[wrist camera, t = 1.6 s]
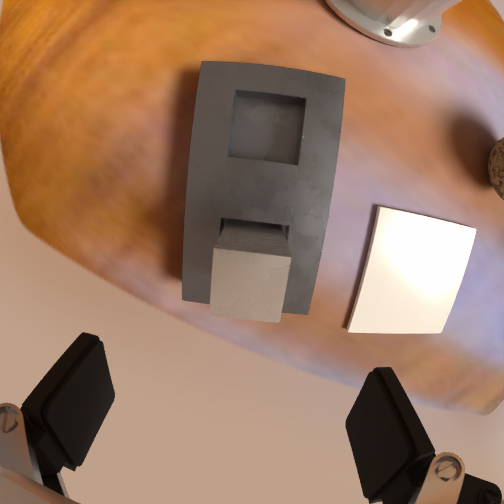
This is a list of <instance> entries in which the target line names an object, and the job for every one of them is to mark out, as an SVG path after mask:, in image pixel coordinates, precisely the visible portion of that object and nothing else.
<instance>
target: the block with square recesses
mask: <svg viewBox="0 0 504 504" xmlns="http://www.w3.org/2000/svg"><path fill="white" fill-rule="evenodd" d="M345 81H346V79H344V78H339V77H335V76H331V75H326V74H321V73H316V72H311V71H305V70H299V69H293V68H286V67H279V66H271V65H262V64H251V63H238V62H217V61H202V62H201V68H200V75H199V81H198V88H197V95H196V102H195V109H194V117H193V125H192V134H191V143H190V153H189V164H188V175H187V187H186V201H185V218H184V237H183V266H182V300H184V301H191V302H198V303H205V304H210V295H211V278H212V263H213V249H214V246H215V244H216V242H217V240H218V238H219V237H220V235H221V233H222V231H223V229H224V227H225V225H226V223H227V221H228V219H229V218H230V219H239V220H248V221H256V222H265V223H273V224H281V225H282V228H283V231H284V234H285V237H286V241H287V244H288V247H289V251H290V254H291V263H290V269H289V274H288V280H287V286H286V291H285V297H284V302H283V307H282V313H292V314H304V315H308V312H309V308H310V304H311V299H312V295H313V291H314V286H315V282H316V277H317V272H318V267H319V263H320V258H321V253H322V248H323V242H324V237H325V232H326V226H327V221H328V215H329V209H330V203H331V197H332V191H333V184H334V178H335V171H336V164H337V157H338V149H339V141H340V133H341V124H342V114H343V104H344V93H345Z"/></svg>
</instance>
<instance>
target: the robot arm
mask: <svg viewBox="0 0 504 504" xmlns="http://www.w3.org/2000/svg"><path fill="white" fill-rule="evenodd" d="M325 1H326V3H327V4H328V5H329V7H330V8H331V9H332V10H333V11H334V12H335V13H336V14H337V15H338V16H339V17H340V18H342V19H343V20H344V21H345V22H347V23H348V24H349V25H350V26H352V27H353V28H355V29H357V30H358V31H360V32H361V33H363V34H365V35H367V36H369V37H371V38H373V39H375V40H378V41H380V42H383V43H386V44H389V45H393V46H397V47H407V48H412V47H419V46H422V45H424V44H427V43H428V42H430V41H432V40H433V39H435V37H436V36H437V35H438V34H439V31H440V29H441V24H442V17H441V14H442V13H443V12H445V11H447V10H448V9H450V8H451V7H453V6H454V5H456V4H458V3H459V2H461V1H463V0H325ZM114 398H115V392H114V388H113V385H112V380H111V377H110V373H109V368H108V364H107V359H106V355H105V350H104V345H103V342H102V341H100V340H99V337H98V336H96V335H92V334H89V333H85V332H83V333H81V334H80V335H79V336H78V338H77V339H76V340H75V341H74V342H73V343H72V344H71V345H70V347H69V348H68V349H67V350H66V351H65V352H64V354H63V355H62V356H61V357H60V358H59V359H58V361H57V362H56V363H55V364H54V365H53V366H52V368H51V369H50V370H49V371H48V372H47V374H46V375H45V376H44V377H43V379H42V380H41V381H40V382H39V383H38V385H37V386H36V387H35V388H34V390H33V391H32V392H31V394H30V395H29V396H28V397H27V399H26V400H25V401H24V403H23V404H22V407H21V409H19V408H18V407H17V406H16V405H14V404H11V403H2V404H0V504H79V503H77V502H75V501H73V500H71V499H70V498H69V495H68V493H67V490H66V487H65V485H64V482H63V479H62V476H61V473H60V471H61V469H62V467H63V466H64V467H66V468H68V469H71V470H73V471H75V469H76V467H77V466H81V465H82V463H83V461H84V459H85V457H86V455H87V453H88V451H89V449H90V447H91V445H92V443H93V441H94V438H95V437H96V434H97V433H98V431H99V429H100V427H101V425H102V422H103V421H104V419H105V417H106V415H107V413H108V411H109V409H110V407H111V405H112V403H113V401H114ZM346 430H347V434H348V437H349V441H350V445H351V448H352V452H353V456H354V459H355V463H356V467H357V471H358V475H359V478H360V483H361V487H362V491H363V495H364V497H365V498H368V500H369V504H372V503H376V502H381V501H382V502H383V504H504V499H503V500H502V494H501V491H500V489H499V487H498V486H497V485H495V484H493V483H491V482H488V481H485V480H482V479H480V478H477V477H474V476H471V475H469V474H466V473H465V465H464V462H463V461H462V459H461V458H460V457H459V456H457V455H456V454H454V453H450V452H443V453H440V454H438V455H437V456H436V455H435V449H434V447H433V445H432V443H431V441H430V439H429V437H428V435H427V433H426V431H425V429H424V427H423V425H422V423H421V421H420V419H419V417H418V415H417V413H416V412H415V410H414V408H413V406H412V404H411V402H410V400H409V398H408V396H407V395H406V393H405V391H404V389H403V387H402V385H401V384H400V382H399V380H398V378H397V376H396V375H395V373H394V371H393V369H392V368H391V367H377V368H375V369H374V370H373V371H372V372H369V374H368V376H367V378H366V380H365V382H364V385H363V387H362V389H361V391H360V393H359V395H358V397H357V399H356V401H355V403H354V405H353V407H352V409H351V411H350V413H349V415H348V417H347V419H346Z"/></svg>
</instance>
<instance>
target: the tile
mask: <svg viewBox="0 0 504 504" xmlns="http://www.w3.org/2000/svg"><path fill="white" fill-rule="evenodd" d="M475 233H476V229H474V228H472V227H468V226H464V225H461V224H457V223H453V222H449V221H445V220H441V219H437V218H433V217H428V216H424V215H420V214H415V213H411V212H406V211H401V210H397V209H392V208H387V207H382V206H378V207H377V212H376V218H375V222H374V227H373V232H372V237H371V241H370V245H369V250H368V254H367V258H366V262H365V266H364V270H363V274H362V278H361V281H360V285H359V289H358V292H357V296H356V299H355V303H354V306H353V309H352V313H351V316H350V319H349V322H348V325H347V328H346V329H347V331H348V332H358V333H441V332H442V330H443V327H444V325H445V323H446V320H447V318H448V316H449V313H450V311H451V308H452V306H453V303H454V300H455V298H456V295H457V292H458V290H459V287H460V284H461V281H462V278H463V275H464V272H465V269H466V265H467V262H468V259H469V255H470V252H471V248H472V244H473V241H474V237H475Z"/></svg>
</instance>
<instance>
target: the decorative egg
mask: <svg viewBox="0 0 504 504" xmlns="http://www.w3.org/2000/svg"><path fill="white" fill-rule="evenodd" d="M488 172H489V178H490V181H491V183H492V186H493V187H494V189H495V191H496V192H497V194H498V195H499V196H500V197H501V198H502V199H503V200H504V137H503V138H502V139H500V140H499V141H498V142H497V143H496V144H495V145H494V146H493V148H492V150H491V152H490V155H489V160H488Z"/></svg>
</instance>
